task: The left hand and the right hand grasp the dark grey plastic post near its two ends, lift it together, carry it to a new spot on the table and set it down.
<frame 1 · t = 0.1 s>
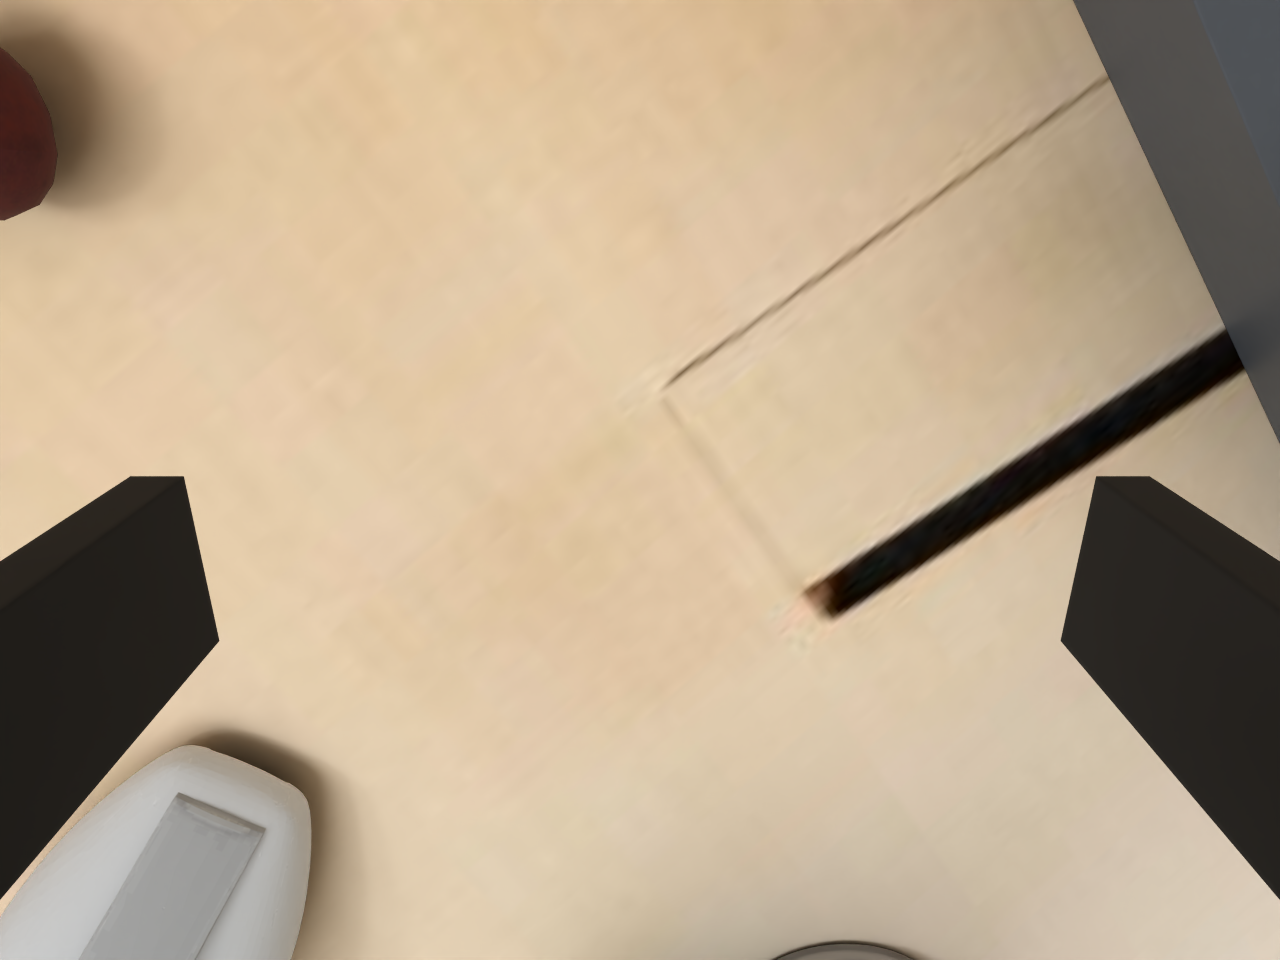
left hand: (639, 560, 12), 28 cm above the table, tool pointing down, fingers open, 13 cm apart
potato: (9, 125, 36), on the table
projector: (187, 875, 52), on the table
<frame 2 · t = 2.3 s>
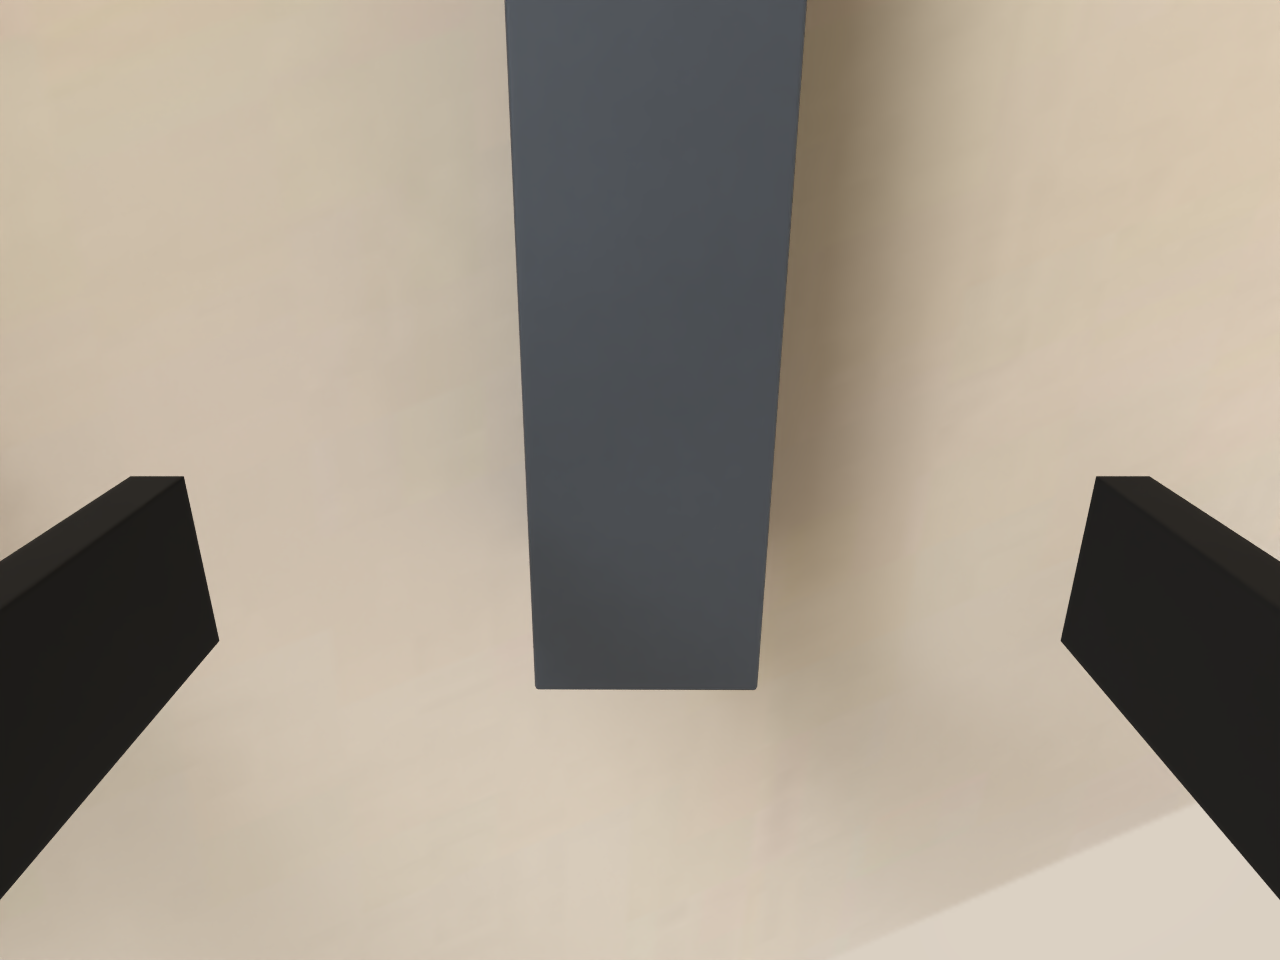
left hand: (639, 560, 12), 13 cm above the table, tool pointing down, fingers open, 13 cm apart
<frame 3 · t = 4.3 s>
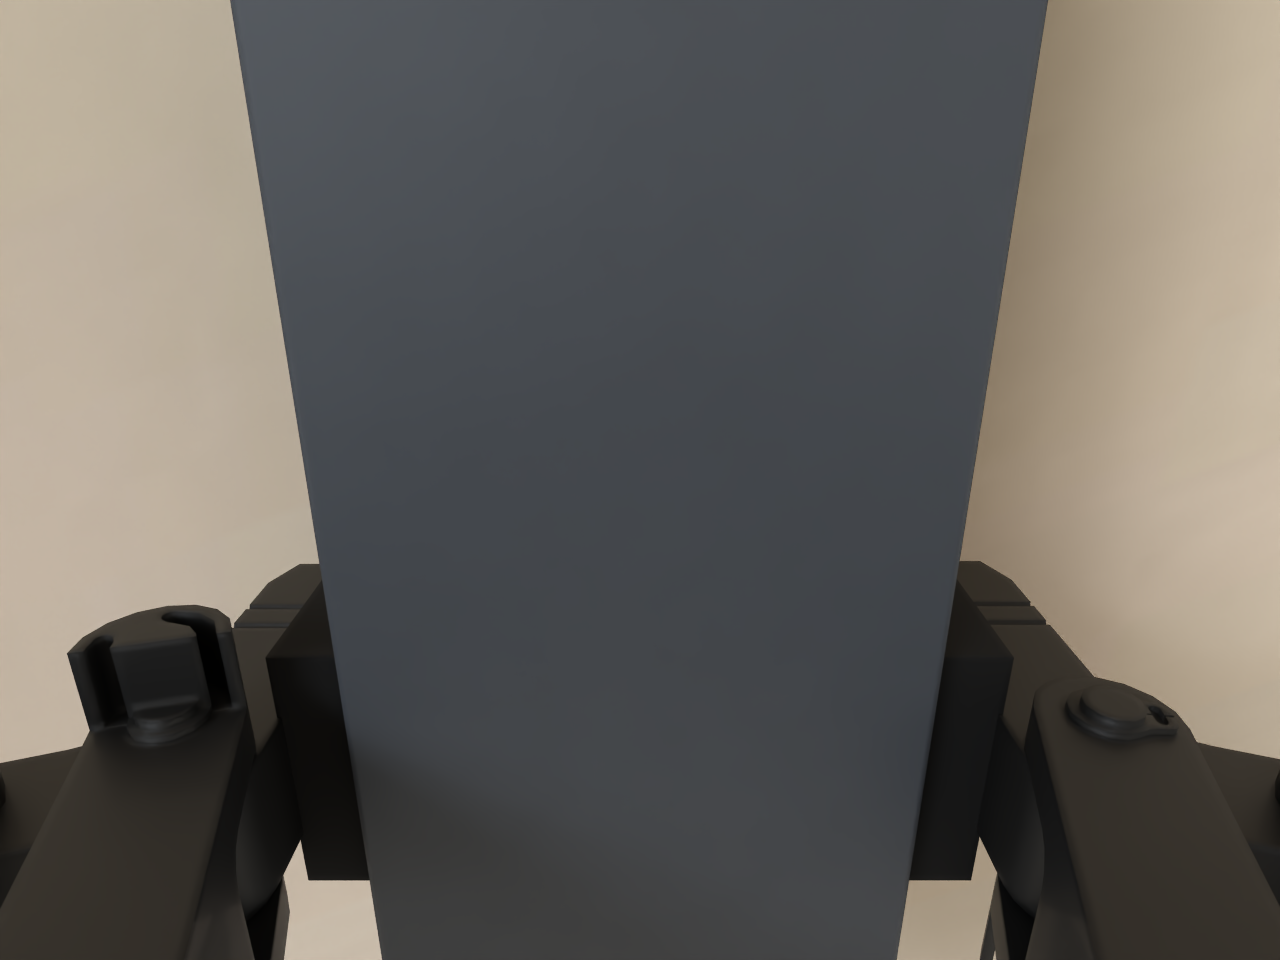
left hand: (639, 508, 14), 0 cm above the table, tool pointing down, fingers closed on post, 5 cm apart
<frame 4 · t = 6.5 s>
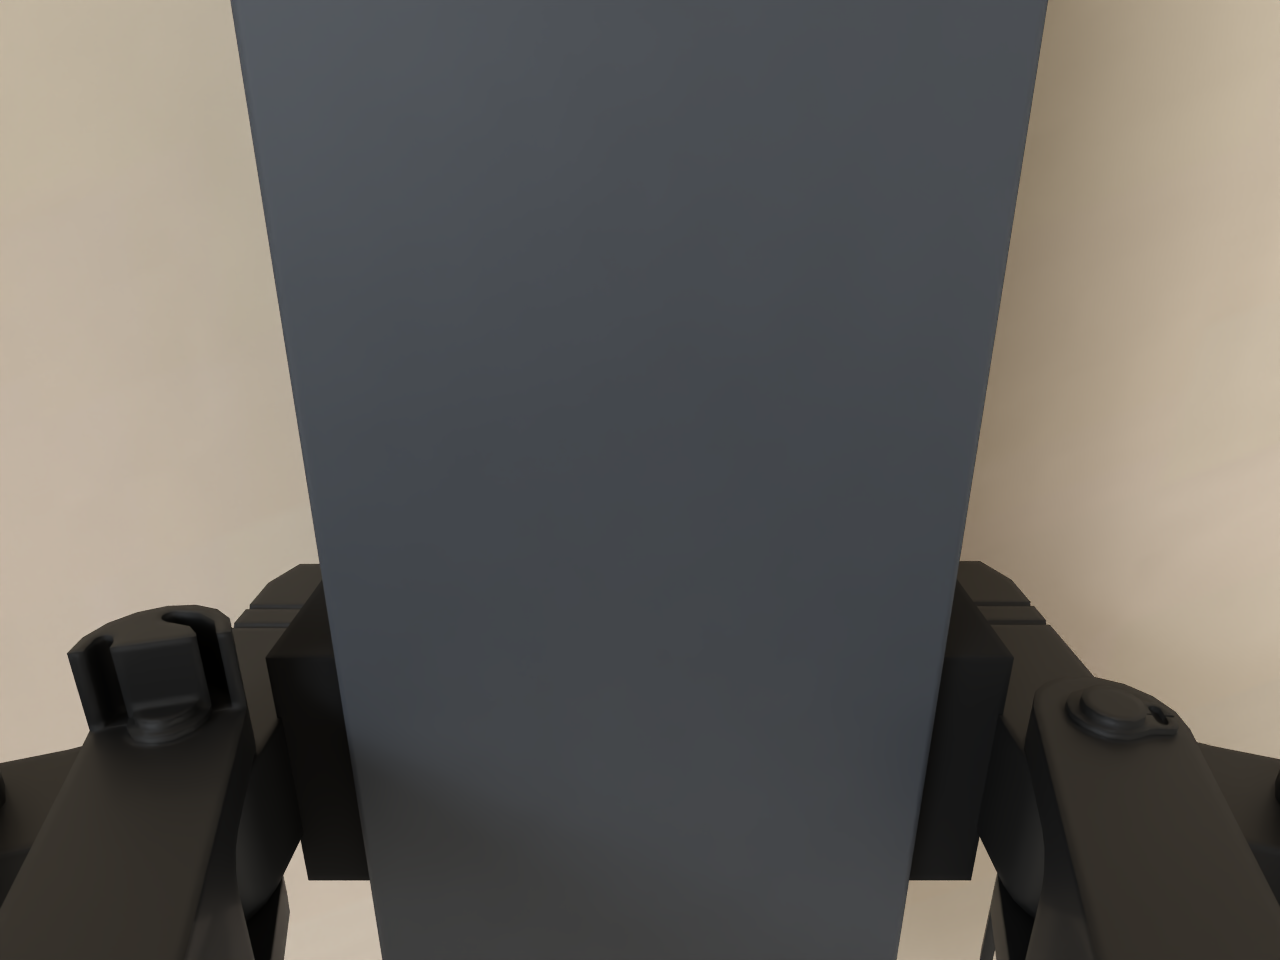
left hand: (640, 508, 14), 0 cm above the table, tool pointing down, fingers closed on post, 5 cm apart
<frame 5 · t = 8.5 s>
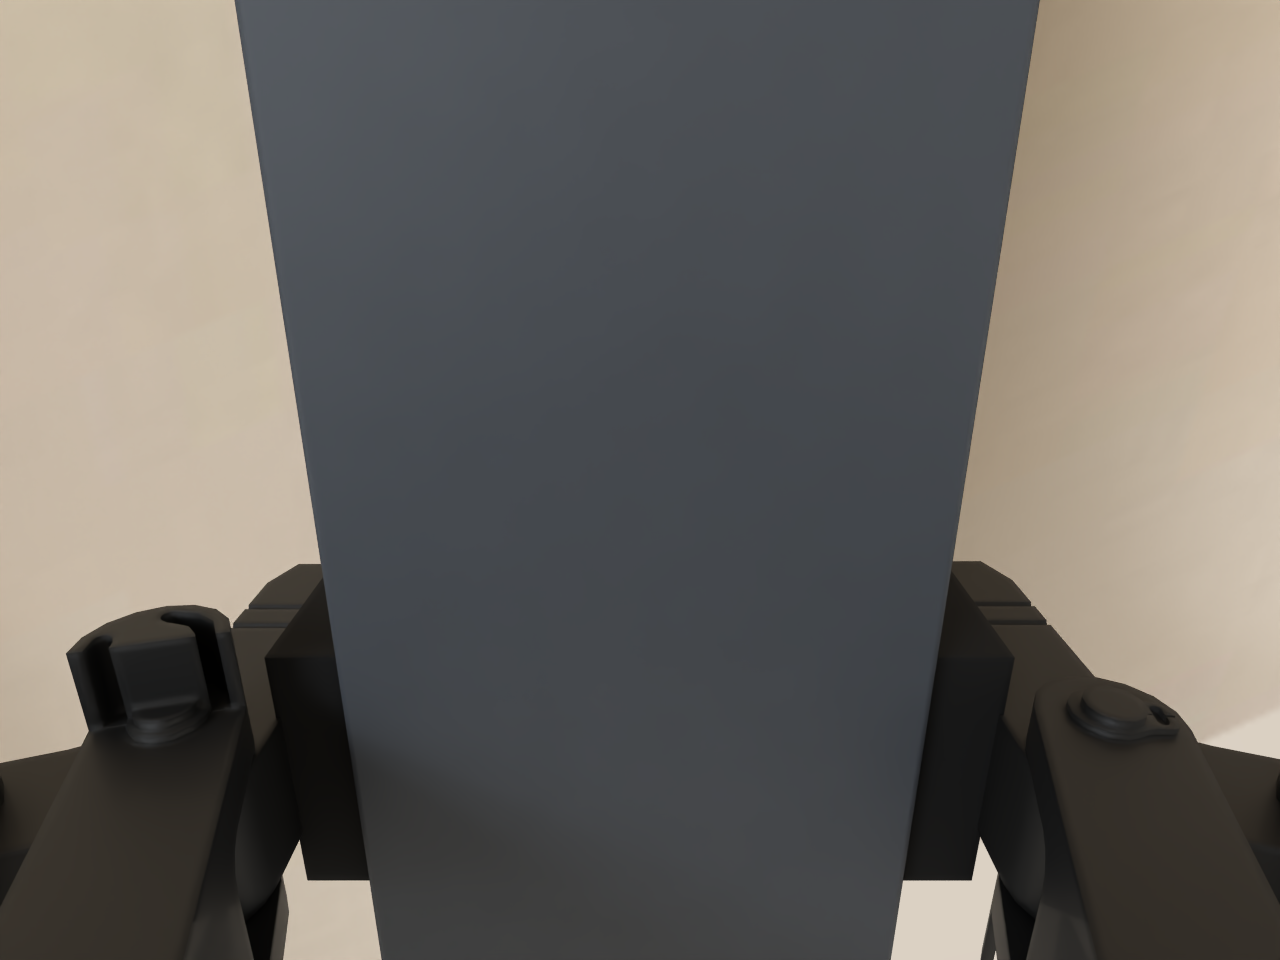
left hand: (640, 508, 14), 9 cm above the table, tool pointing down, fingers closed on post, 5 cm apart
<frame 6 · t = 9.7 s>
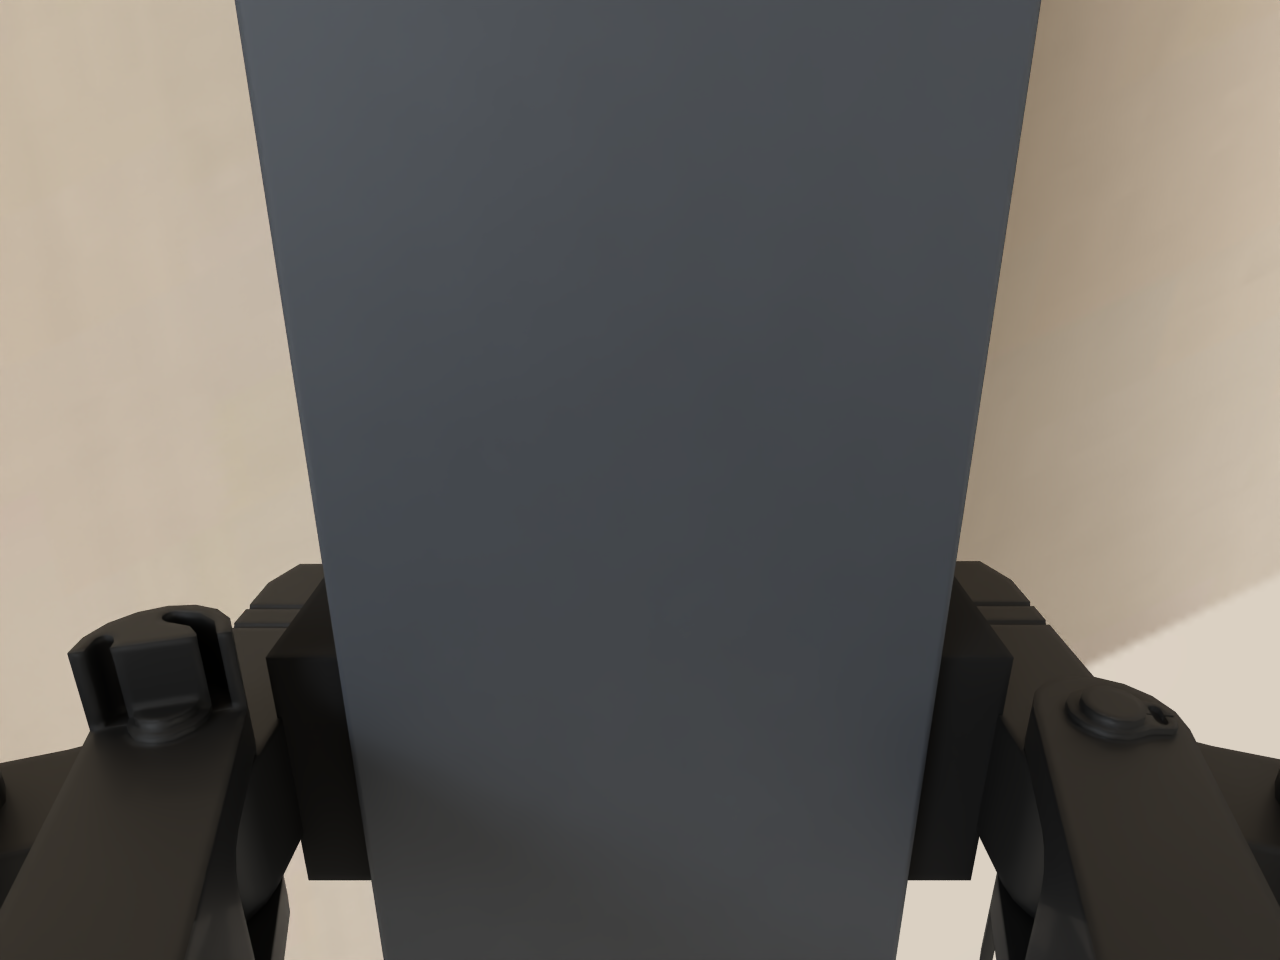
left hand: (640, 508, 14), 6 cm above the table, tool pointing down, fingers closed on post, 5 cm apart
when the left hand's fingers open (2 cm above the table, at t = 10.4 s): post drops 1 cm, on the table.
when the right hand's fingers open (4 cm above the table, at t = 10.6 s): post stays where it is, on the table.
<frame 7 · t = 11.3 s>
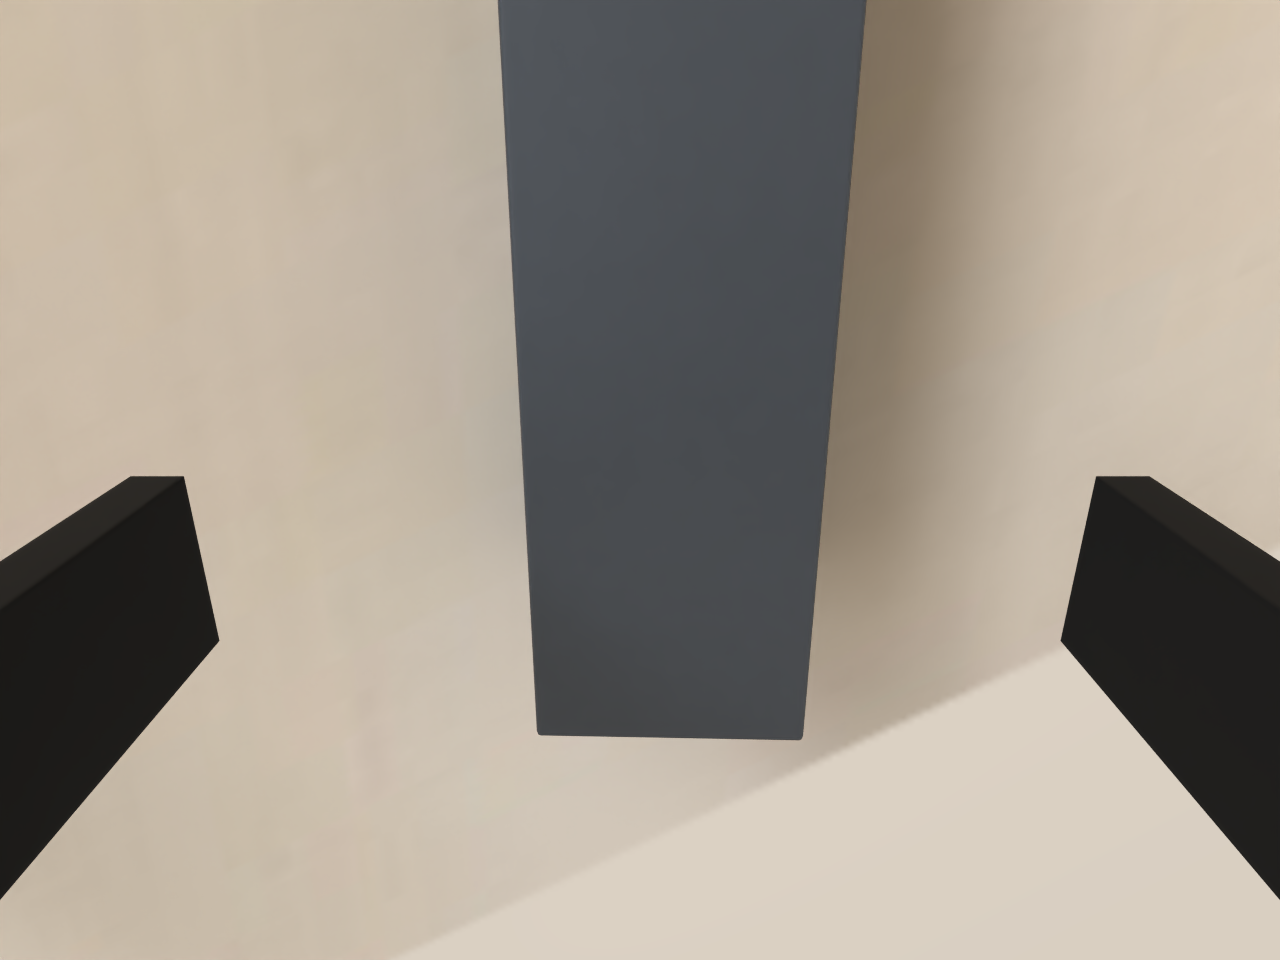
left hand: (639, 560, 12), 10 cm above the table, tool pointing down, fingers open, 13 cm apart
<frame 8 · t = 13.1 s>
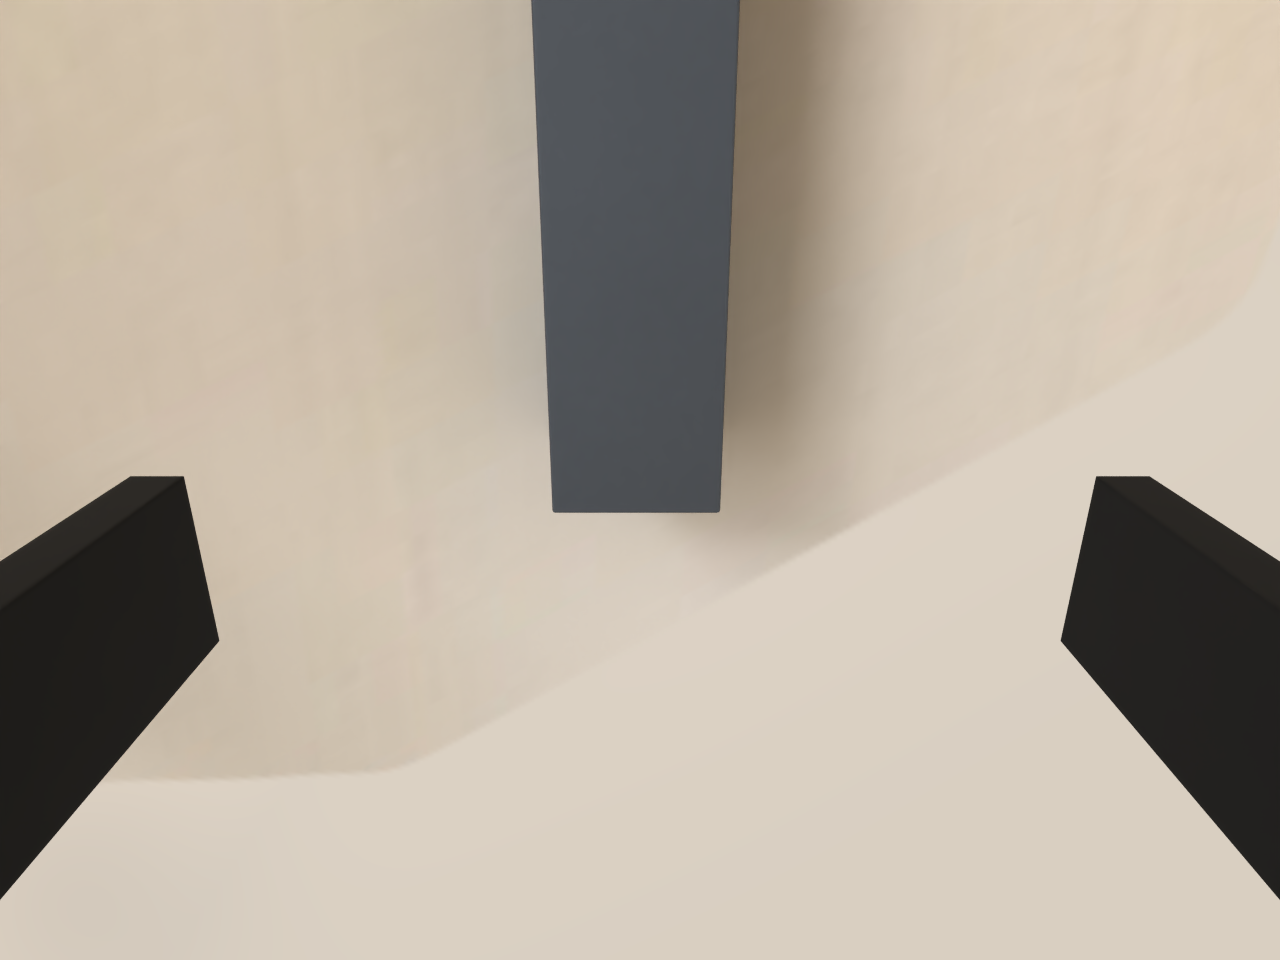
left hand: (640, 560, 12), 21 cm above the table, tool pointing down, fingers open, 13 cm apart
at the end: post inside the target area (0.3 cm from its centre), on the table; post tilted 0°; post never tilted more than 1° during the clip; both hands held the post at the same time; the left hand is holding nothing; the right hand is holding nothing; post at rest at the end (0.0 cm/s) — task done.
